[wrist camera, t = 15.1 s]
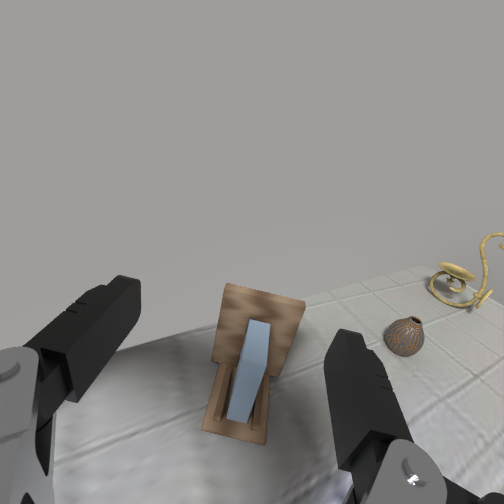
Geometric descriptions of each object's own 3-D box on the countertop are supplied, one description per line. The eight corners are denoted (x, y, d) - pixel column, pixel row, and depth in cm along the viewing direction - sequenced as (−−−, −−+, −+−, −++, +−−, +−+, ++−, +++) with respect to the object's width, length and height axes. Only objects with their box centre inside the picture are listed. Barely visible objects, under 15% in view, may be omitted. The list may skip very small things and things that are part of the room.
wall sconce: (474, 312, 77) (534, 240, 65) (466, 322, 71) (530, 245, 59) (427, 286, 85) (472, 218, 74) (416, 293, 80) (463, 221, 68)
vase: (377, 348, 56) (396, 319, 51) (383, 331, 61) (401, 303, 57) (411, 367, 52) (433, 338, 48) (414, 348, 58) (435, 320, 53)
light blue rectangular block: (226, 418, 36) (242, 359, 30) (235, 375, 42) (250, 319, 36) (246, 423, 36) (266, 366, 30) (252, 379, 42) (270, 324, 36)
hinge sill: (190, 427, 35) (202, 346, 27) (212, 356, 45) (226, 282, 38) (274, 448, 35) (312, 373, 27) (277, 371, 45) (304, 301, 37)
